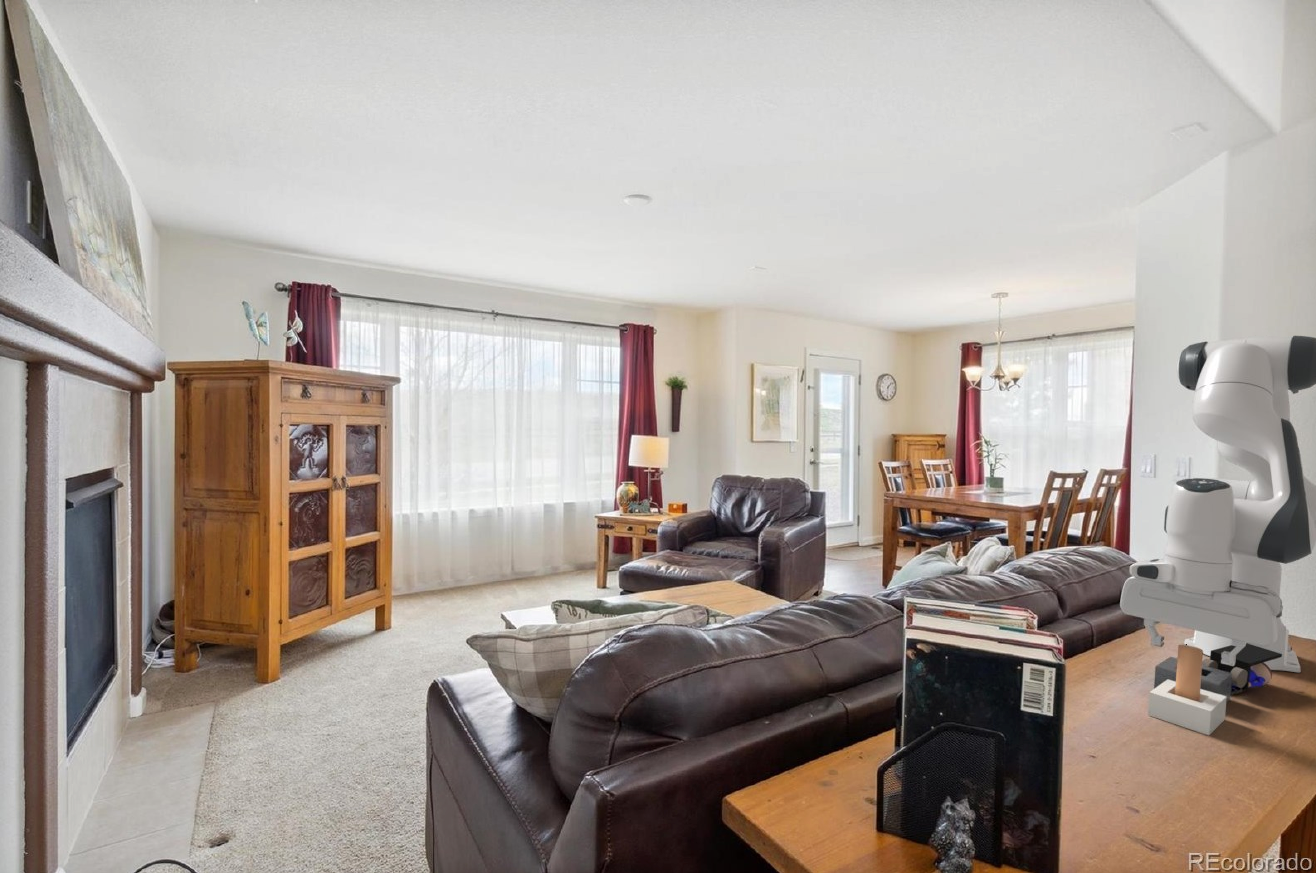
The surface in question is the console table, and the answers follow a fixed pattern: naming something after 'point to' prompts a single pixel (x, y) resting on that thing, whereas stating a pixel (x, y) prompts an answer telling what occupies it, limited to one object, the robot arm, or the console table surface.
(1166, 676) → the block
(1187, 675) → the pin
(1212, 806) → the console table surface
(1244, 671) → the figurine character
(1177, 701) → the socket block
